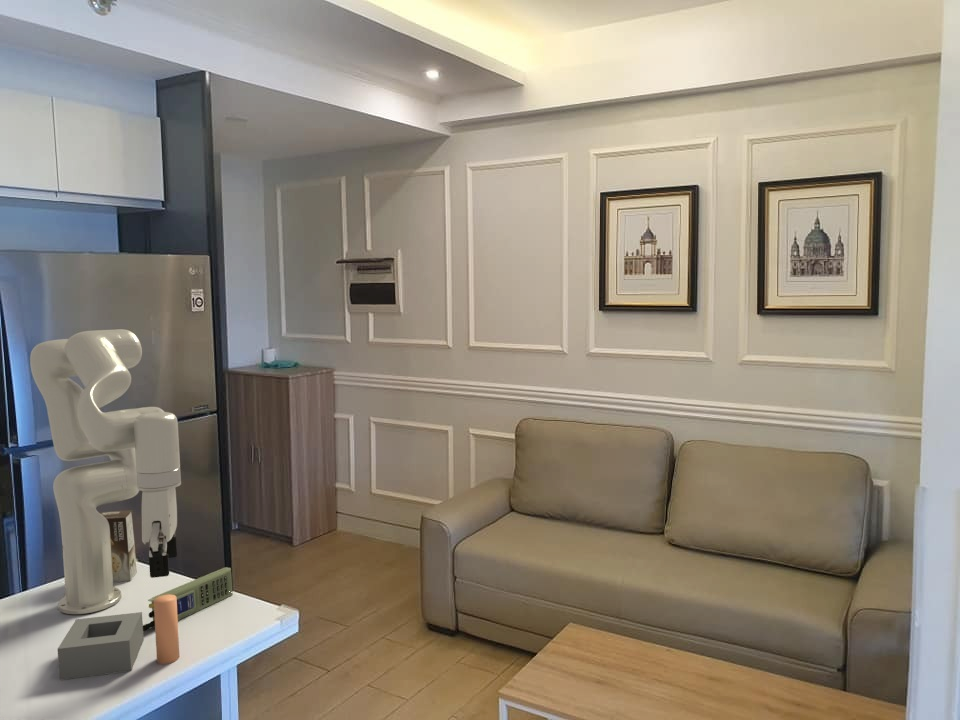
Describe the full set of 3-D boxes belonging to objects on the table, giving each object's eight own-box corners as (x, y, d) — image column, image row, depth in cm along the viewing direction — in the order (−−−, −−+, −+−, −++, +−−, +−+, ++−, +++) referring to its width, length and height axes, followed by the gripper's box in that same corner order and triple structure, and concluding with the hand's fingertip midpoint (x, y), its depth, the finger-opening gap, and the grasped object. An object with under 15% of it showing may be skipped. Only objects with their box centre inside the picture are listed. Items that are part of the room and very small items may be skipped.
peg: (158, 654, 140) (155, 595, 139) (180, 652, 142) (177, 593, 140) (155, 665, 137) (151, 604, 135) (177, 662, 138) (174, 602, 136)
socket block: (78, 648, 143) (76, 619, 142) (143, 640, 146) (141, 612, 146) (59, 680, 132) (57, 648, 131) (131, 670, 135) (129, 640, 134)
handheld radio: (235, 596, 167) (136, 642, 146) (225, 593, 169) (126, 638, 148) (233, 568, 167) (133, 610, 145) (223, 566, 168) (123, 607, 147)
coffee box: (137, 571, 182) (134, 509, 180) (130, 581, 175) (127, 517, 174) (98, 574, 180) (94, 511, 178) (89, 584, 173) (85, 519, 172)
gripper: (146, 469, 143) (151, 552, 144) (127, 492, 126) (133, 586, 128) (186, 466, 144) (191, 549, 146) (173, 488, 128) (178, 582, 130)
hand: (164, 566), depth 137 cm, fingers open, 9 cm apart
